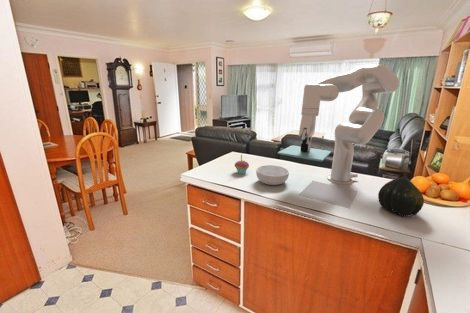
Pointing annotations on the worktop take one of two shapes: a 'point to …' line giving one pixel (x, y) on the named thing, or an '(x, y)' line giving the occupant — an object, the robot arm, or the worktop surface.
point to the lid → (311, 154)
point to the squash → (401, 197)
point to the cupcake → (241, 166)
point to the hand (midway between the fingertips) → (305, 150)
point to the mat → (330, 194)
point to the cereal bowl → (272, 174)
